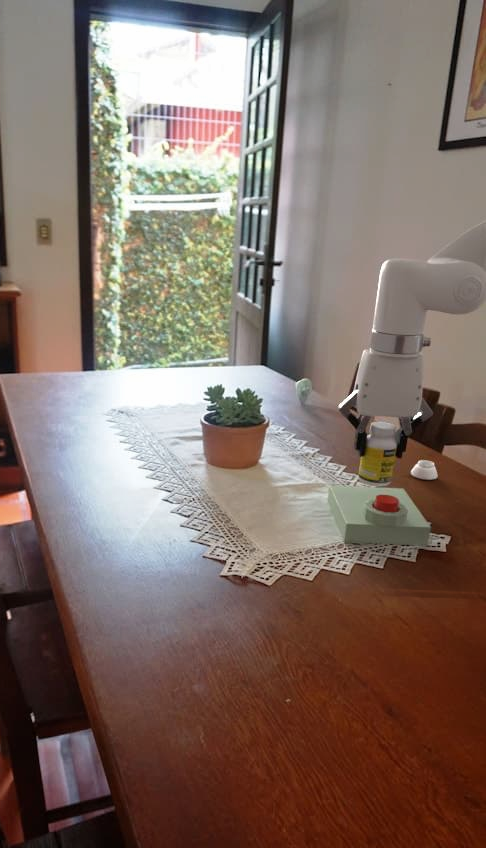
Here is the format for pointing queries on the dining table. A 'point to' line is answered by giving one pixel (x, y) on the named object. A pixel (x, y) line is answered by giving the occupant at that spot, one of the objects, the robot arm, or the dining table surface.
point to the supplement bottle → (378, 455)
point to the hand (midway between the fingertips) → (378, 453)
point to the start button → (386, 503)
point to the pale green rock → (303, 390)
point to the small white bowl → (424, 470)
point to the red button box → (376, 517)
